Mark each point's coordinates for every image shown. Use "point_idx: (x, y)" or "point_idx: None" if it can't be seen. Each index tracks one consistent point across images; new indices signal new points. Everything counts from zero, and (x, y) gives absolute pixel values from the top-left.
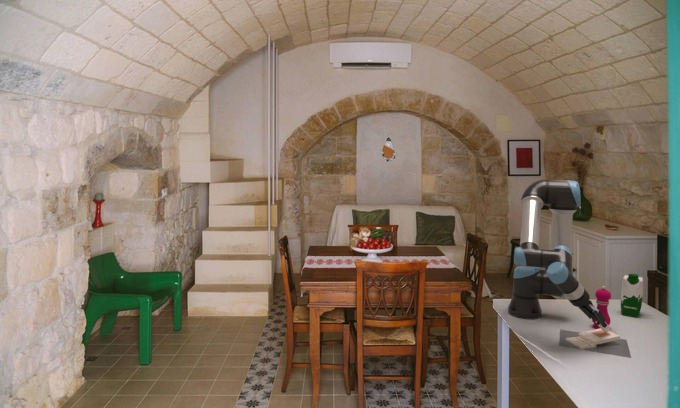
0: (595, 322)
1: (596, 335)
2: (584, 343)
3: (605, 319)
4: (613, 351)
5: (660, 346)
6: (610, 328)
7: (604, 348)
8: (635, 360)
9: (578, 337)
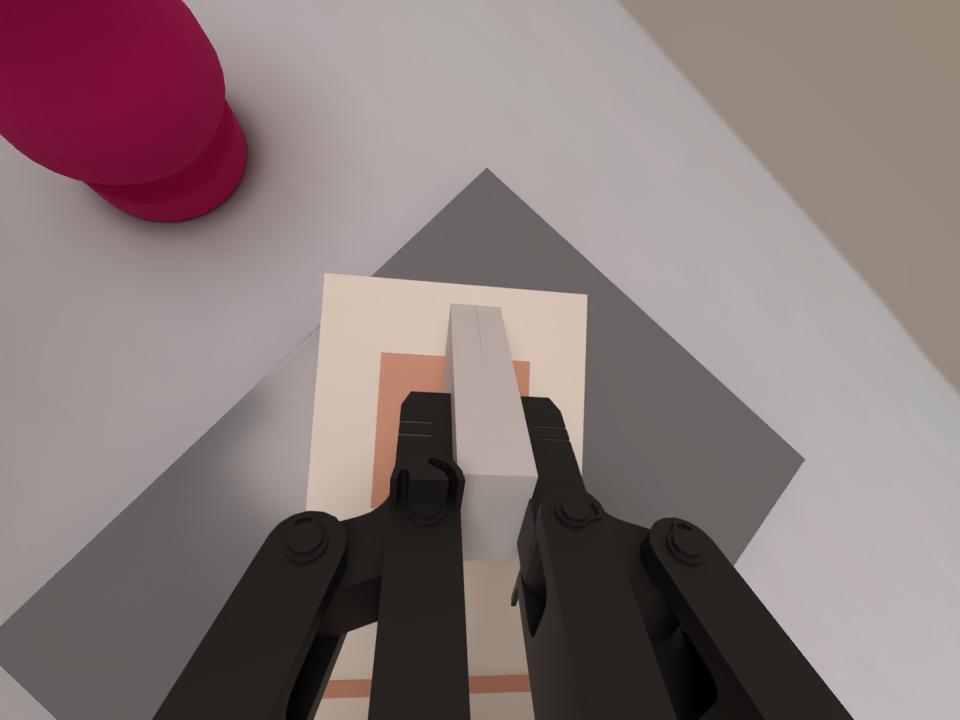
0: (114, 181)
1: None
2: (489, 713)
3: (720, 568)
4: (671, 507)
5: (620, 20)
6: (499, 314)
7: None
8: (790, 423)
9: None
